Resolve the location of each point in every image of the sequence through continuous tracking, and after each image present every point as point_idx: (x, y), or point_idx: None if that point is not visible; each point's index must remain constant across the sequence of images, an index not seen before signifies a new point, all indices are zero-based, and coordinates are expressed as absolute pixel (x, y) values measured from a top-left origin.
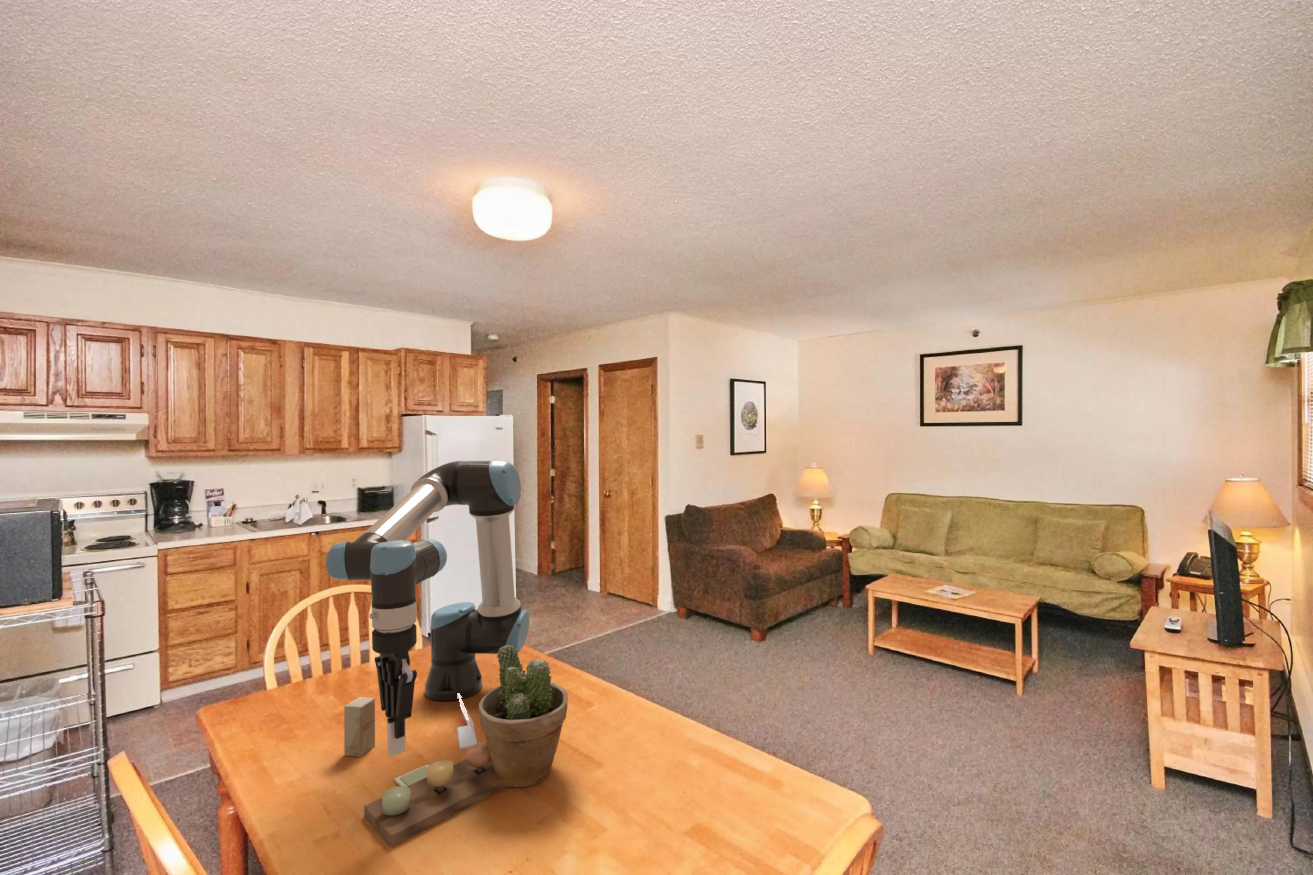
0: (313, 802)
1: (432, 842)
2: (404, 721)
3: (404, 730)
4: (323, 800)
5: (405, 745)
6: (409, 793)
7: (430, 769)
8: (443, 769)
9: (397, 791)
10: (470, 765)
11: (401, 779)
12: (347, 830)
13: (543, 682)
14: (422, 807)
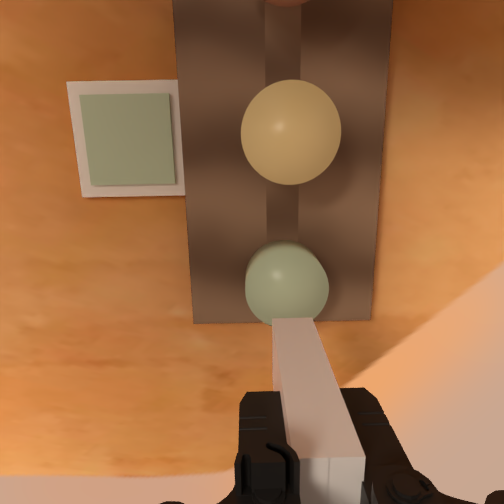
0: (47, 376)
1: (426, 235)
2: (409, 465)
3: (383, 414)
4: (54, 358)
5: (316, 331)
6: (317, 262)
7: (279, 170)
8: (317, 133)
9: (276, 283)
10: (297, 4)
11: (103, 184)
12: (223, 354)
13: None
14: (323, 216)
